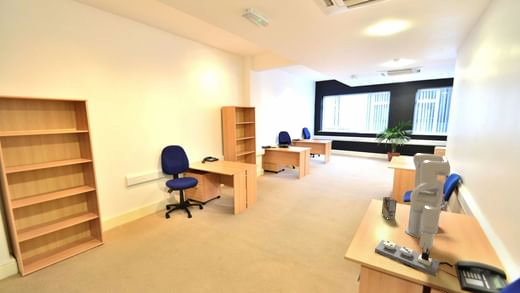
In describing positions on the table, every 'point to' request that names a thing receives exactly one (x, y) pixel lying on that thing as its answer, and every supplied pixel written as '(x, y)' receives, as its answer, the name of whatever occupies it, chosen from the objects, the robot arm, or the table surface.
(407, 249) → the white small block
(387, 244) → the tile
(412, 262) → the keypad board
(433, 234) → the robot arm
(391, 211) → the coffee box
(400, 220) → the table surface
